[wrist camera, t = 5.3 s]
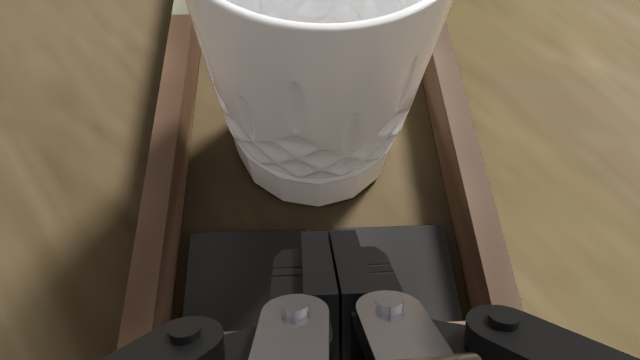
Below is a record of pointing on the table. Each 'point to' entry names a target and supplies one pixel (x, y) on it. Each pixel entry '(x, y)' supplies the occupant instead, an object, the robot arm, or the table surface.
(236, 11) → the white cup
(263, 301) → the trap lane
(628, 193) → the table surface
